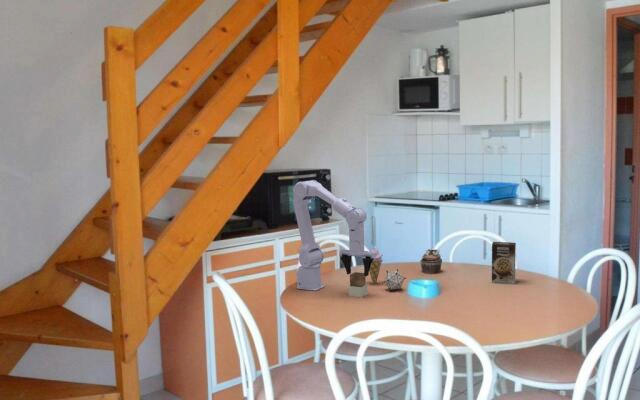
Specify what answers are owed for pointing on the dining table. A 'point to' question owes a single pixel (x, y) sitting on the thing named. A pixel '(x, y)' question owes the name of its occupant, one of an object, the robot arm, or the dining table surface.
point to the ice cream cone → (375, 265)
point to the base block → (358, 291)
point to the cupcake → (431, 262)
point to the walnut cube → (357, 279)
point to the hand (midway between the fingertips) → (357, 274)
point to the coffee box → (503, 262)
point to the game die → (394, 280)
